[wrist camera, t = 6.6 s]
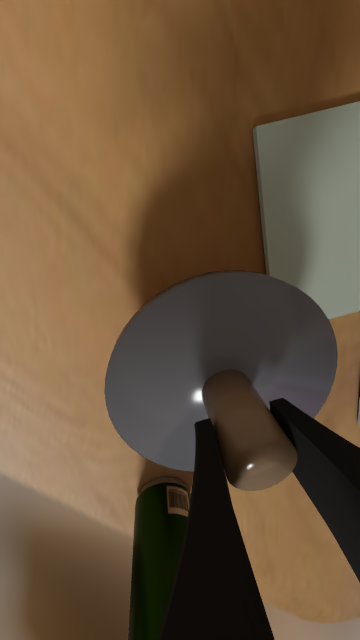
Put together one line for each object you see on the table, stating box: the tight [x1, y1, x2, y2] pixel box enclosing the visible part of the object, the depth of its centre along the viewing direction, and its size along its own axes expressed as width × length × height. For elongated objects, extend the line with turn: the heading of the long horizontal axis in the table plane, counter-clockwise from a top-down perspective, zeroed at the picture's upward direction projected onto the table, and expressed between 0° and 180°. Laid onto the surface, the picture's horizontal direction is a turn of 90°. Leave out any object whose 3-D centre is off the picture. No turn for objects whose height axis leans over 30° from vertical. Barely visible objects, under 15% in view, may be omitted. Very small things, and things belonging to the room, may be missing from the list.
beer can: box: [128, 477, 191, 640], centre depth 17 cm, size 5×5×12 cm
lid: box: [105, 270, 337, 491], centre depth 10 cm, size 12×12×5 cm
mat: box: [252, 101, 360, 319], centre depth 15 cm, size 13×13×1 cm
